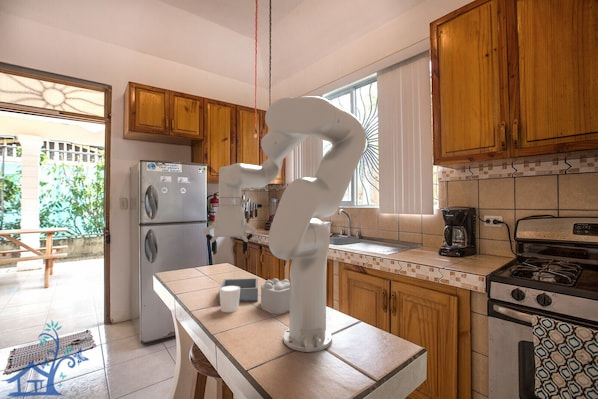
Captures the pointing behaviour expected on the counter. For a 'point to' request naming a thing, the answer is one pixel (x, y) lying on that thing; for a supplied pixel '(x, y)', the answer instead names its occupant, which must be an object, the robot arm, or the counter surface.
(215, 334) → the counter surface
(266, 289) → the lumpy-topped squat cylinder
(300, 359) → the counter surface
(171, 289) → the counter surface
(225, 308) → the white cylinder
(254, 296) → the bin
